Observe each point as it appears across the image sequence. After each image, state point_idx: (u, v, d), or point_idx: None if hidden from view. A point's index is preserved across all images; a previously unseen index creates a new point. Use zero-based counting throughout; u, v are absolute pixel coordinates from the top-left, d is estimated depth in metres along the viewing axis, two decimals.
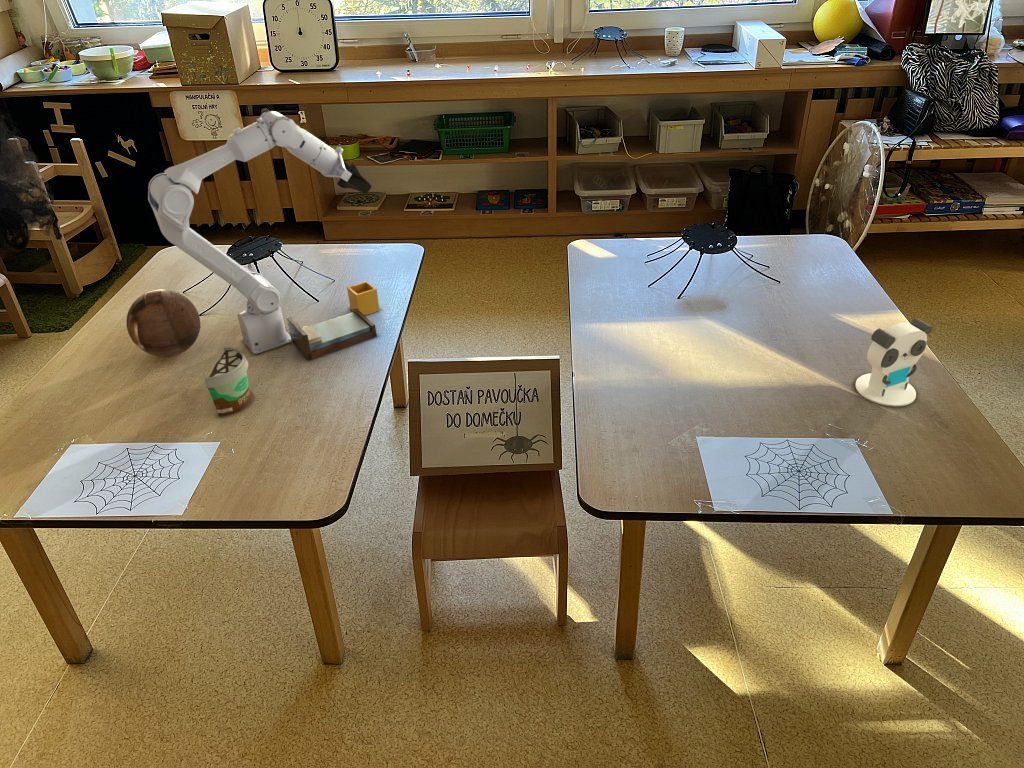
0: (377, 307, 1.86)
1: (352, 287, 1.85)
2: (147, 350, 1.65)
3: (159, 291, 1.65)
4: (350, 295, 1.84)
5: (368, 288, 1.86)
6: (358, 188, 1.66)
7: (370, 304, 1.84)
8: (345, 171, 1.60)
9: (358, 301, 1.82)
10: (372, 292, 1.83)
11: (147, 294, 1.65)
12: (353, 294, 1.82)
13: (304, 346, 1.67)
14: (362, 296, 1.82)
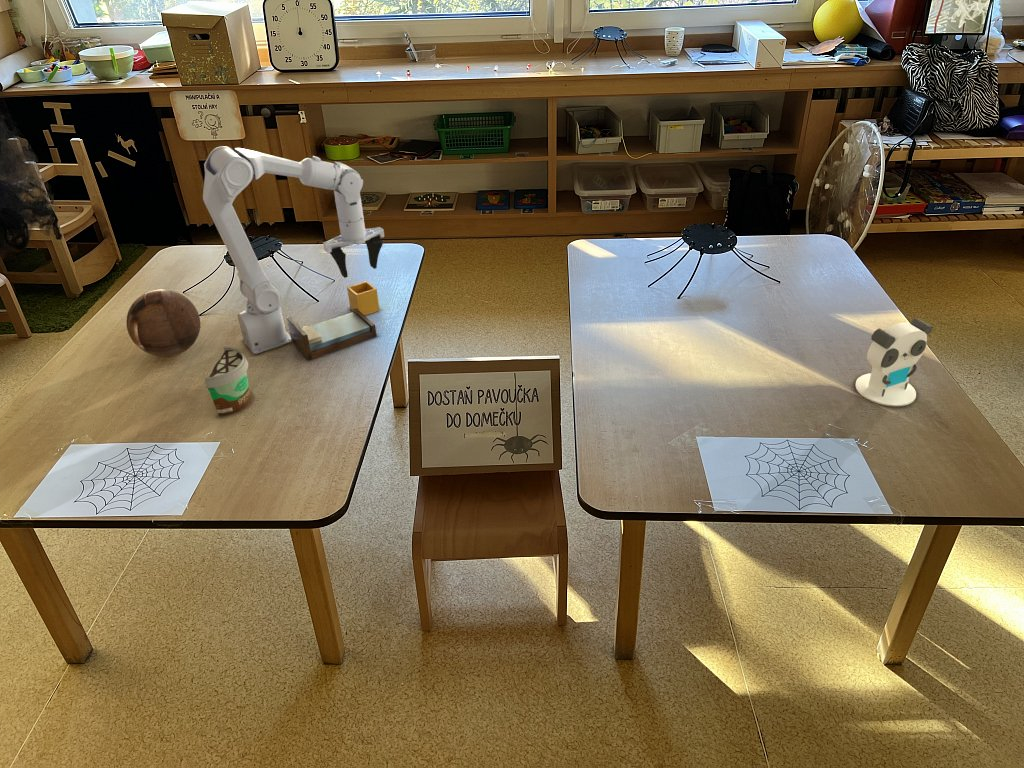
0: (377, 307, 1.86)
1: (352, 287, 1.85)
2: (147, 350, 1.65)
3: (159, 291, 1.65)
4: (350, 295, 1.84)
5: (368, 288, 1.86)
6: (338, 265, 1.78)
7: (370, 304, 1.84)
8: (326, 246, 1.72)
9: (358, 301, 1.82)
10: (372, 292, 1.83)
11: (147, 294, 1.65)
12: (353, 294, 1.82)
13: (304, 346, 1.67)
14: (362, 296, 1.82)
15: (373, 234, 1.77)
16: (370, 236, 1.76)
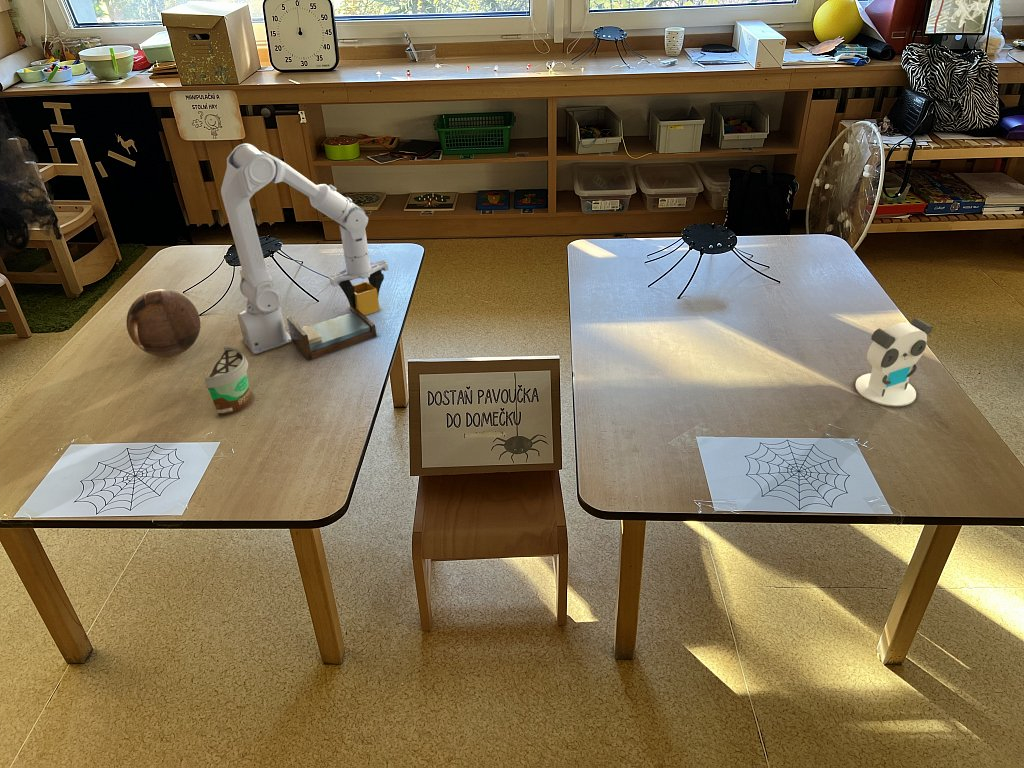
0: (377, 307, 1.86)
1: None
2: (147, 350, 1.65)
3: (159, 291, 1.65)
4: None
5: (368, 288, 1.86)
6: (347, 296, 1.84)
7: (370, 304, 1.84)
8: (332, 280, 1.77)
9: (358, 301, 1.82)
10: (372, 292, 1.83)
11: (147, 294, 1.65)
12: None
13: (304, 346, 1.67)
14: (363, 296, 1.82)
15: (378, 268, 1.82)
16: (375, 270, 1.81)
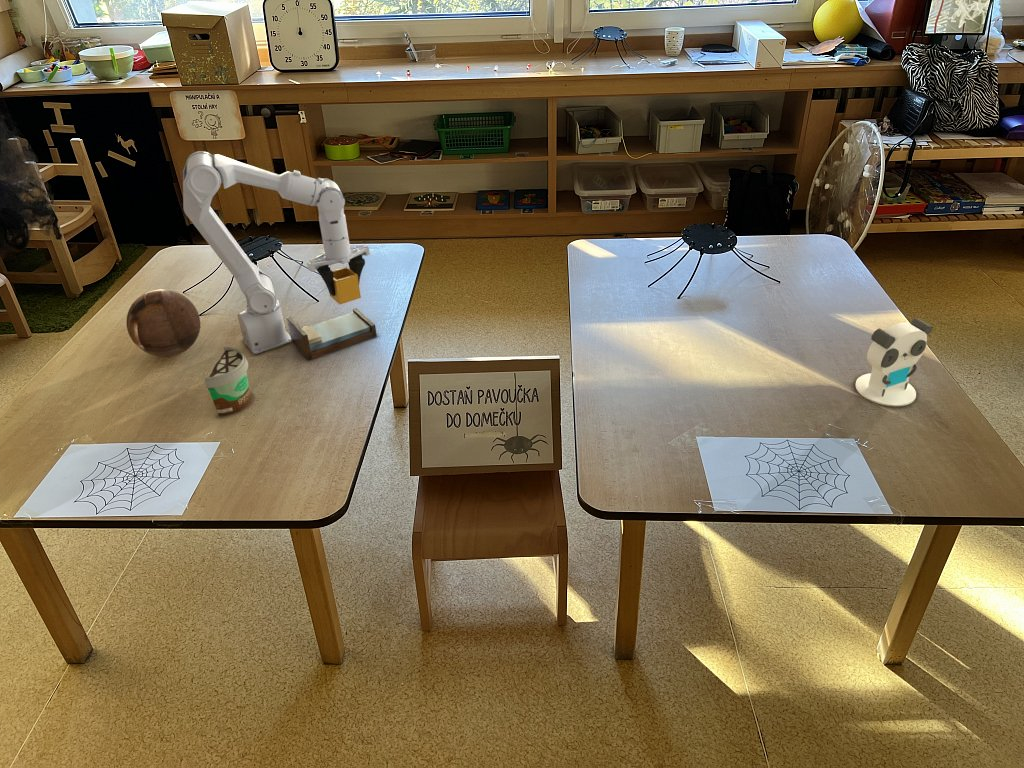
0: (358, 294, 1.75)
1: None
2: (147, 350, 1.65)
3: (159, 291, 1.65)
4: None
5: (348, 274, 1.76)
6: (326, 283, 1.73)
7: (350, 291, 1.74)
8: (309, 265, 1.67)
9: (338, 287, 1.71)
10: (353, 278, 1.72)
11: (147, 294, 1.65)
12: None
13: (304, 346, 1.67)
14: (342, 282, 1.71)
15: (358, 252, 1.71)
16: (355, 254, 1.71)
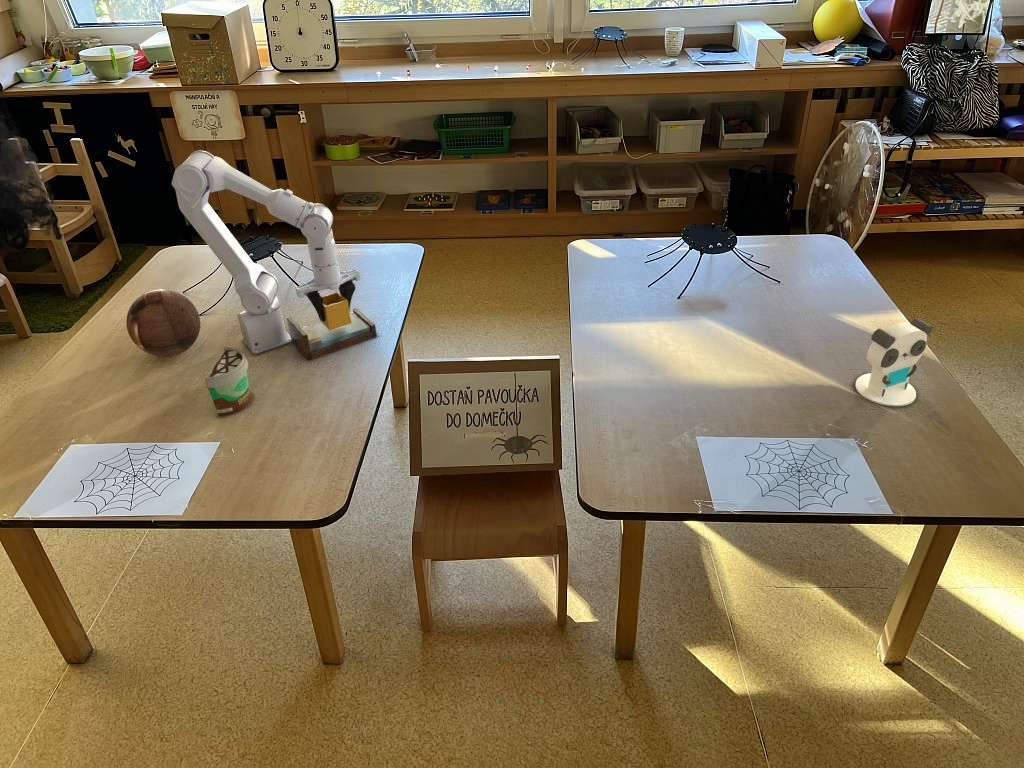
0: (348, 319, 1.73)
1: None
2: (147, 350, 1.65)
3: (159, 291, 1.65)
4: None
5: (339, 299, 1.73)
6: (316, 308, 1.71)
7: (341, 316, 1.71)
8: (298, 291, 1.64)
9: (327, 313, 1.69)
10: (343, 303, 1.70)
11: (147, 294, 1.65)
12: None
13: (304, 346, 1.67)
14: (332, 308, 1.69)
15: (348, 278, 1.69)
16: (345, 280, 1.68)
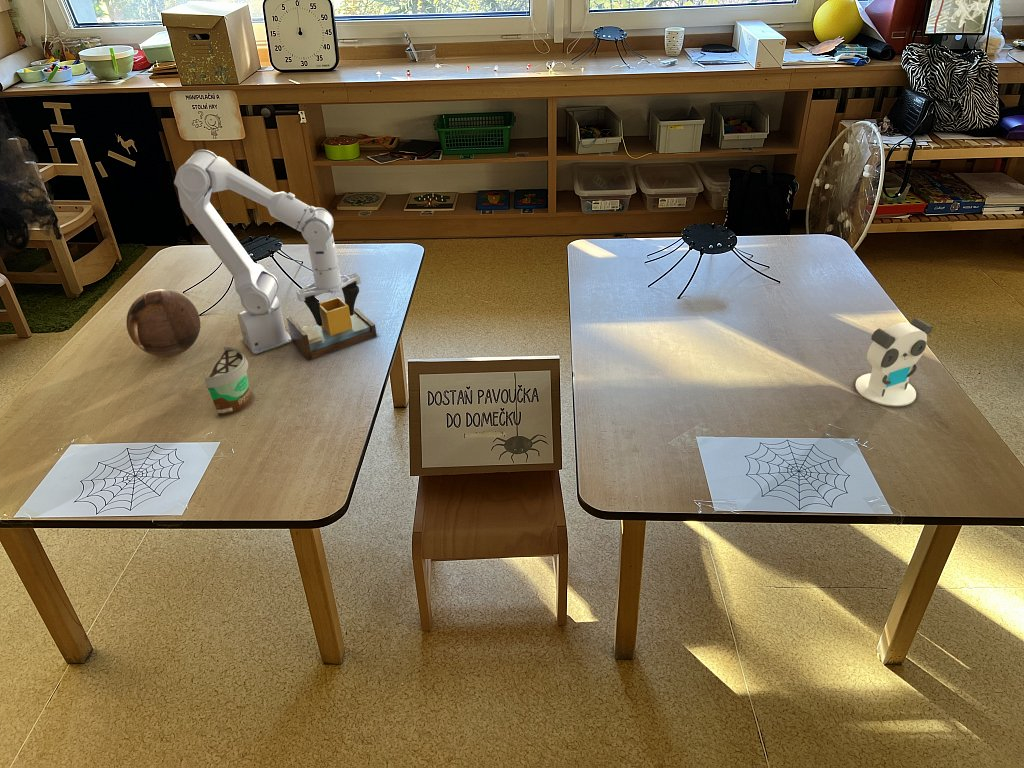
0: (349, 325, 1.73)
1: (322, 304, 1.72)
2: (147, 350, 1.65)
3: (159, 291, 1.65)
4: (320, 312, 1.72)
5: (340, 304, 1.74)
6: (313, 313, 1.71)
7: (342, 322, 1.72)
8: (299, 295, 1.65)
9: (328, 319, 1.69)
10: (344, 309, 1.70)
11: (147, 294, 1.65)
12: (323, 311, 1.70)
13: (304, 346, 1.67)
14: (333, 313, 1.69)
15: (349, 281, 1.69)
16: (346, 283, 1.68)
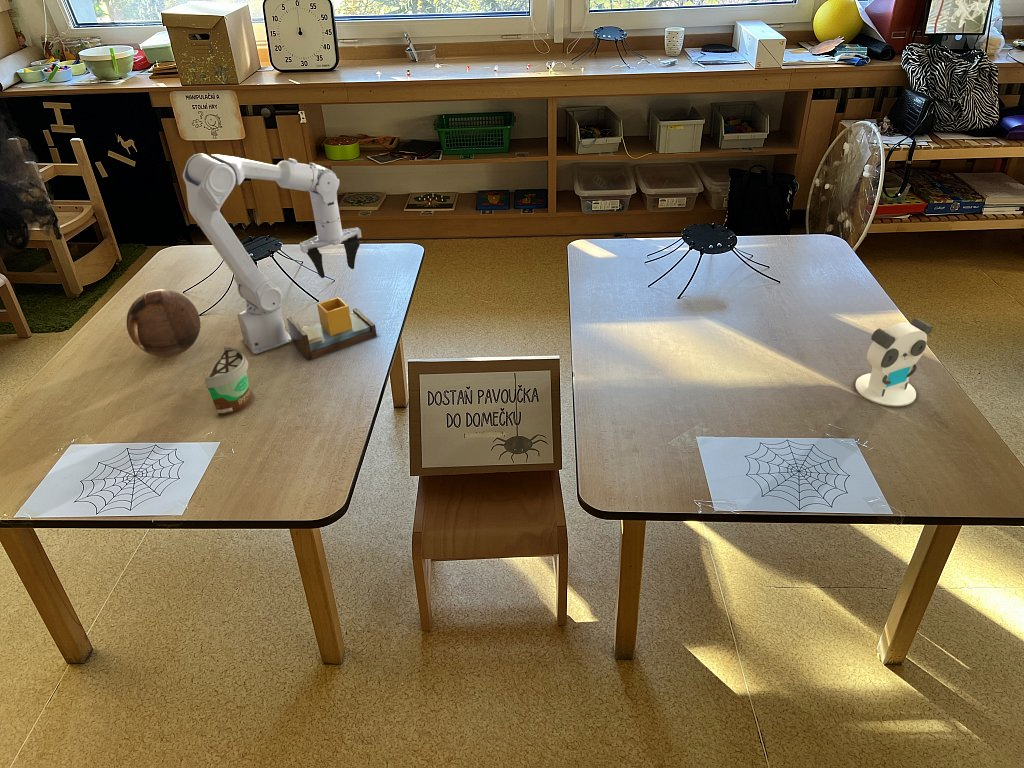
0: (349, 325, 1.73)
1: (322, 304, 1.72)
2: (147, 350, 1.65)
3: (159, 291, 1.65)
4: (320, 312, 1.72)
5: (340, 304, 1.74)
6: (315, 265, 1.78)
7: (342, 322, 1.72)
8: (302, 246, 1.72)
9: (328, 319, 1.69)
10: (344, 309, 1.70)
11: (147, 294, 1.65)
12: (323, 311, 1.70)
13: (304, 346, 1.67)
14: (333, 313, 1.69)
15: (350, 234, 1.77)
16: (347, 236, 1.76)
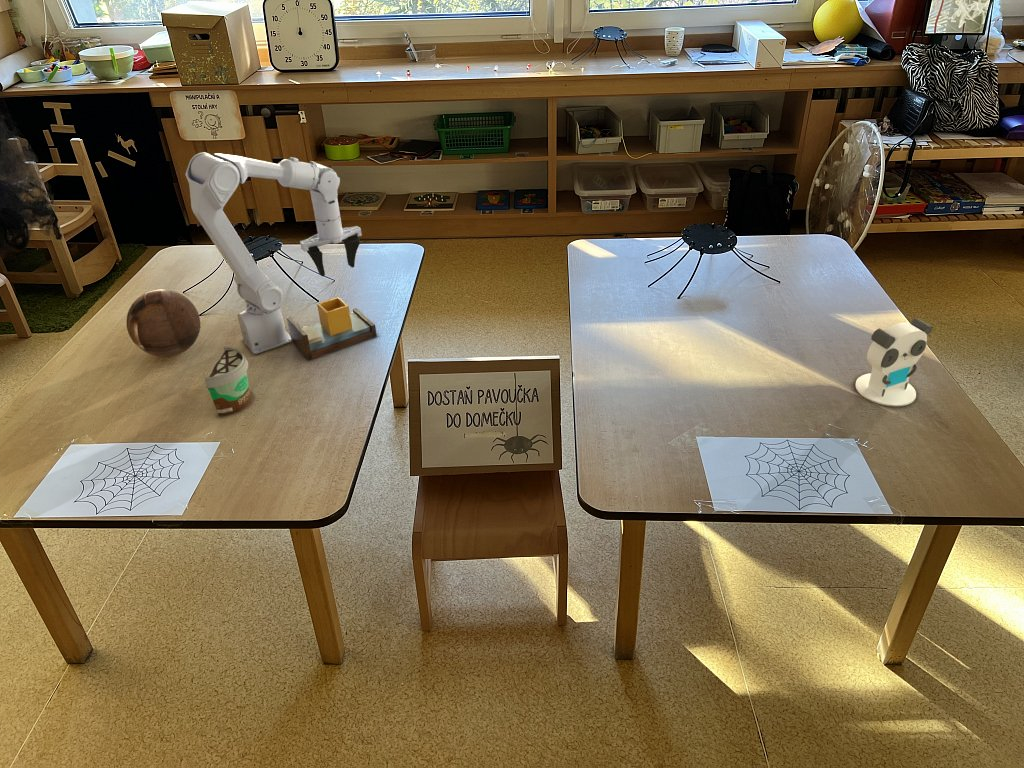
0: (349, 325, 1.73)
1: (322, 304, 1.72)
2: (147, 350, 1.65)
3: (159, 291, 1.65)
4: (320, 312, 1.72)
5: (340, 304, 1.74)
6: (316, 263, 1.79)
7: (342, 322, 1.72)
8: (302, 244, 1.73)
9: (328, 319, 1.69)
10: (344, 309, 1.70)
11: (147, 294, 1.65)
12: (323, 311, 1.70)
13: (304, 346, 1.67)
14: (333, 313, 1.69)
15: (350, 233, 1.78)
16: (347, 235, 1.77)
